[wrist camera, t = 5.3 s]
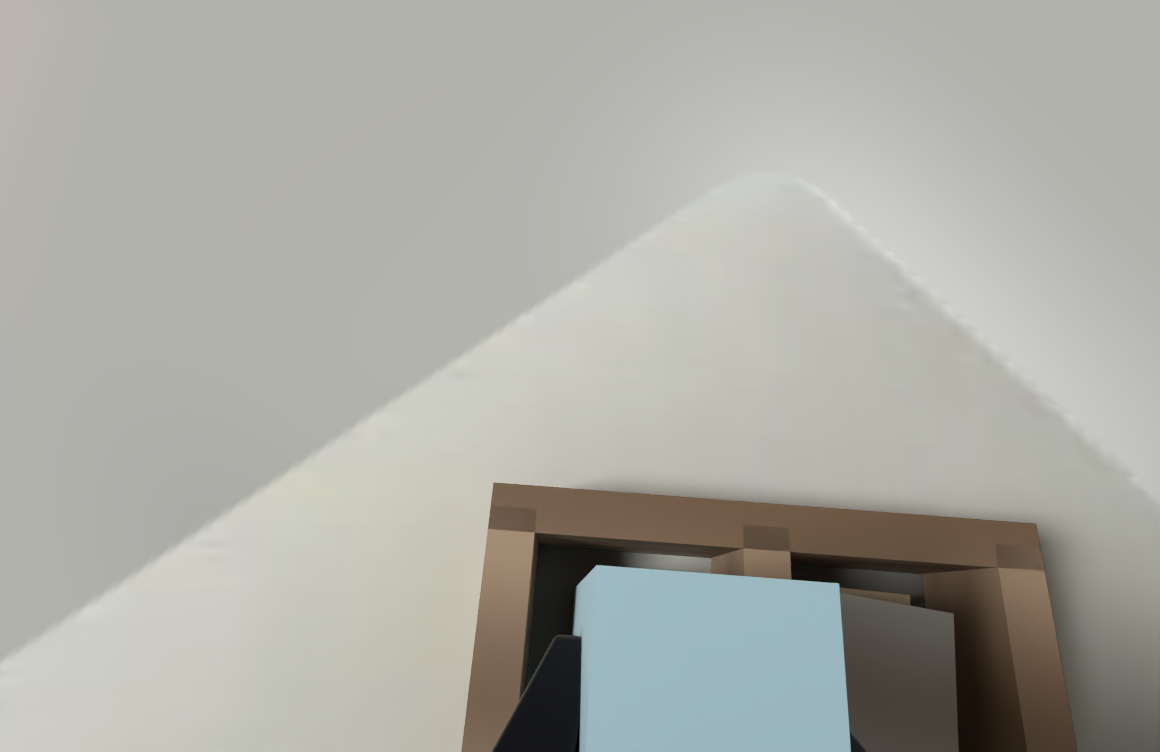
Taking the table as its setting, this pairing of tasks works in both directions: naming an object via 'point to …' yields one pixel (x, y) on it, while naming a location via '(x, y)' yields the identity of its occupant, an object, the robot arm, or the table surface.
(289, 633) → the table surface
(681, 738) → the pale blue tall box
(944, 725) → the offcut upper
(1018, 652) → the rack
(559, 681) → the robot arm
